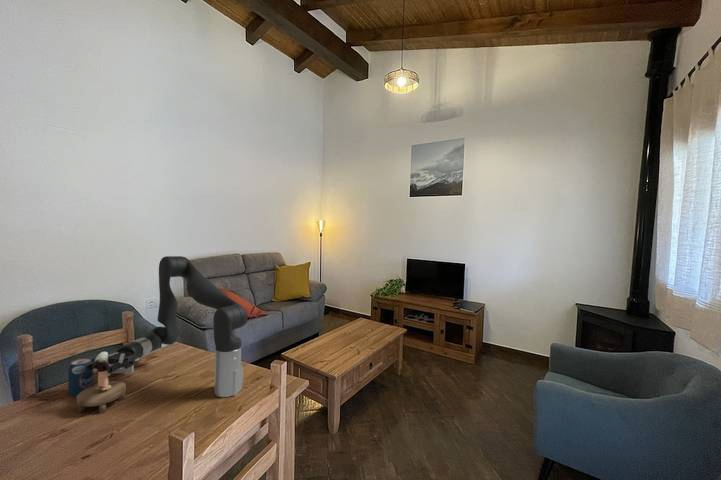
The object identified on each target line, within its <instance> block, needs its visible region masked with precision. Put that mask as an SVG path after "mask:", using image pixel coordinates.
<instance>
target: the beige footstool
mask: <svg viewBox="0 0 721 480" xmlns="http://www.w3.org/2000/svg"><path fill="white" fill-rule="evenodd" d="M108 385H111V388H109V389H106V390H101V389H102V388H101V389H96V388H97V387H98V383H97V384H95V385H94V386H91V387H89V388H87V389H85V390H83V391H81V392H80V393H79V394H78V395H77V397H76V404H77V413H81V412H83V411H85V410H86V408H88V407H96V406H97V407H98V406H99V407H98V413H99V415H100V414H105V413H106V412H107V403H112V402H113V401H115V400H117V399H118V402H121V401H124V400H126V399H125V398H126V396H125V395H126V392H127V391H126V390H127V387H126V383H125V382H123V381H119V380H118V381H117V380H116V381H115V380H112V381H109V384H108Z"/></svg>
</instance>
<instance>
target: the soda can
mask: <svg viewBox="0 0 721 480" xmlns="http://www.w3.org/2000/svg"><path fill="white" fill-rule="evenodd" d="M91 359H92V358H91V357H82V358H77V359H75V360H72V361H71V362H70V365H69V366H68V368H67V369H68V370H67V371H68V372H67V376H68V378H67V383H68V386H67V392H68V393H67V394H68V395H70V397H72V398H77V395H78V394H79V393H80V392H81V391H83V390H85V389H87V388H89V387H91V386H94V374H95V372H94V371H93V370H91V371H89V372H85V366H86V365H88V364H90V363H91Z"/></svg>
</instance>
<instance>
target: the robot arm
mask: <svg viewBox="0 0 721 480" xmlns="http://www.w3.org/2000/svg"><path fill="white" fill-rule="evenodd" d="M179 277H181V278H183V279H185V280H186V281H187V283H186V293H188V296H189V297H191V298H192V299H193V300H194V301H195V302H196V303H198V304H200V305H203V306H205V307H208V308H212V309H214V310H215V312H214V315H213V322H212V323H213V324H212V325H213V326H212V327H213V341H214V347H215V348H214V350H215V351H214V354H215V355H214V357H215V358H214V395H215V396H216V397H219V398H228V397H231V396H232V397H235V396H237V395H238V393H240V391H241V390H242V388H243V378H244V377H243V376H244V375H243V374H244V373H243V372H244V364H242V339H241V338H240V337H239V336H234V335H232V334H231V333H232V331H233V330H237V329H240V328H242V327H244V326H245V325H246V324H247V322H248V318H249V317H248V313H247V311H246V309H245V308H244V306H242V304H240V303H238V302H237V301H235V300H234V299H232V298H231V297H229V296H228V295H227V294H226V293H224V292H223V291H222V290H220V288H218V287H217V286H216V285H215V284H214V283H213V282H211V281H210V280H209V279H208V278H207V277H205V276H204V275H203V274H202V272H200V271H199V270H198V269H197V267H195V265H194V264H193V263H192V262H191V260H190V259H189V258H187V257H186V256H182V255H180V256H177V255H176V256H175V255H169V256H168V255H167V256H163V257H162V258H161V259H160V262H159V263H158V289H159V307H158V314H157V322H158V323H159V324H161V325H163V326H157V327H154V328H153V329H152V330H151V331H149V333H148V334H147V335H144V336H143V337H140V338H137V339H135V340H132V341H131V342H128V343H126V344H124V345H122V346H120V347H119V348H118V350H117V351H116V352H113V353H111V354H108V359H107V360H108V364H109V365H111V366H110V367H108V368H107V373H111V374H113V373H112V372H114V371H116V370H118V369H122V368H123V367H125V369H127V368H129V367H131V366H133V365H134V366H135V365H136V364H138V363H139V362H140V359H142V358H144V357H145V356H147V355H148V354H150V353H152V352H153V351H155V350H157V349H158V348H159V347H160V346H161V345H168V346H170V345H173V344H175V343H176V341H177V340H178V336H179V328H178V322H177V313H178V301H177V298H176V296H175V294H174V292H173V290H172V288H171V283H170V282H171V278H179ZM96 357H97V356H95V357H93V358H91V363H90V364H88V365H86V366H85V372H89V371H91V370H93V369H94V366H95V365H96V364H97V363H98V362H99V361H98V360H95V359H96ZM105 362H106V361H105ZM112 364H113V365H112ZM134 366H133V367H134Z"/></svg>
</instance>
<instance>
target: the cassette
mask: <svg viewBox="0 0 721 480" xmlns="http://www.w3.org/2000/svg"><path fill="white" fill-rule="evenodd" d="M106 362H107V363H108V360H107V361H106ZM112 365H113V364H112ZM110 366H111V365H109V367H110ZM134 366H135V364H134V365H133V366H131V367H129V368H127V369H125V367H123V368H122V369H118V370H116V371H114V372H112V373H111V374H133V373H134Z"/></svg>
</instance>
